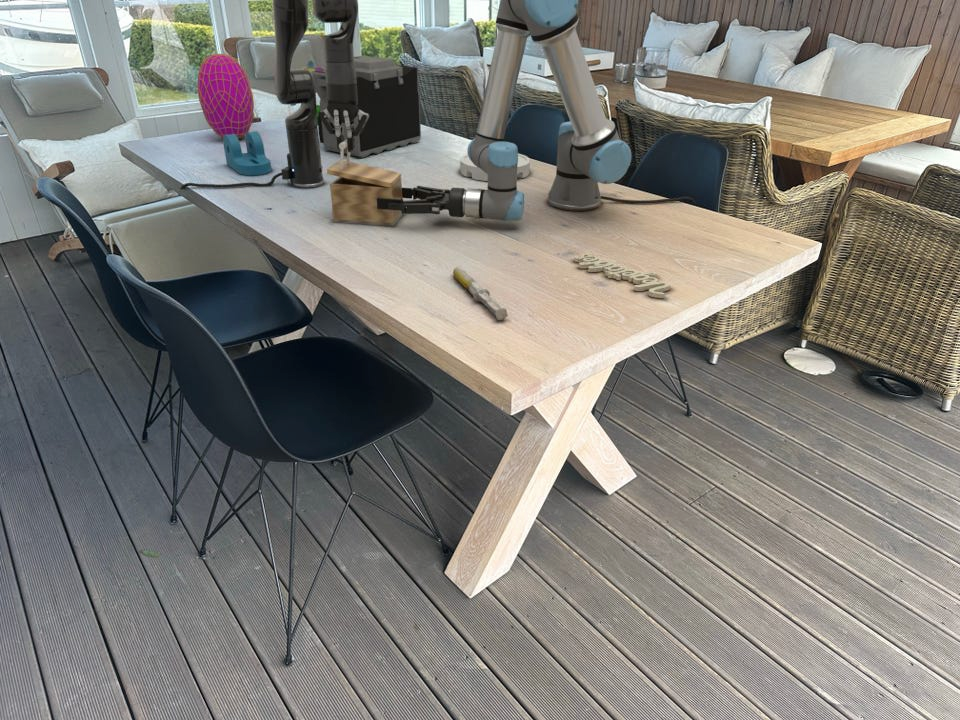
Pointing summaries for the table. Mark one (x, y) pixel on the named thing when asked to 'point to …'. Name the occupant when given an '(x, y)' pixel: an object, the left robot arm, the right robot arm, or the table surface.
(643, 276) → the decorative sign
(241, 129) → the decorative egg
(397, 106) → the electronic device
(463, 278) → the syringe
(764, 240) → the table surface
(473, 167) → the ashtray
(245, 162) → the camera mount
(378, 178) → the lid
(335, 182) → the chest
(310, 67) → the potted flower
